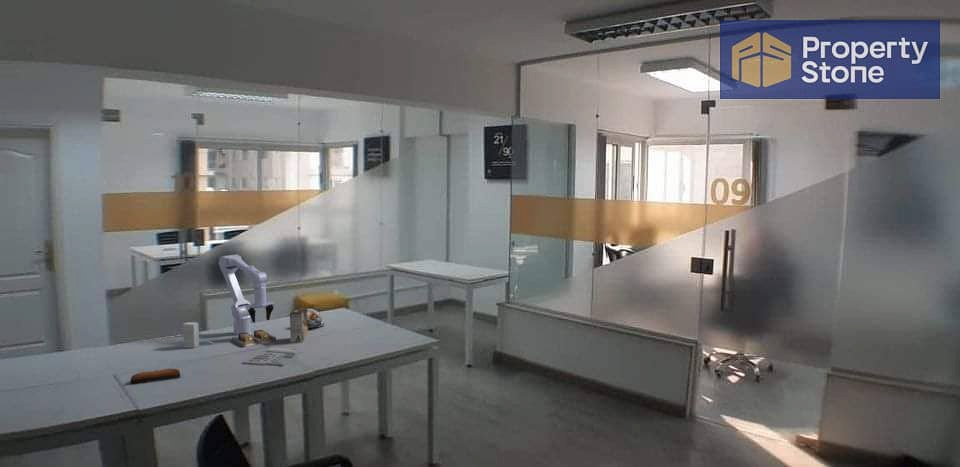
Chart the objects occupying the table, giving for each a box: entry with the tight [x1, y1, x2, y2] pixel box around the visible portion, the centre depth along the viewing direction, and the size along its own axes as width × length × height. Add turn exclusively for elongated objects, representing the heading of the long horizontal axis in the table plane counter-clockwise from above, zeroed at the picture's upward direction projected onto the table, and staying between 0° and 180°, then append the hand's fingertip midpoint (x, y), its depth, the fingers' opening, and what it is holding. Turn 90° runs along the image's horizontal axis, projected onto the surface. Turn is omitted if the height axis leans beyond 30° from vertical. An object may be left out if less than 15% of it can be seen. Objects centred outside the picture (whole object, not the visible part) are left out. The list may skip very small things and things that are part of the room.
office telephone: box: [242, 347, 303, 367], centre depth 266 cm, size 23×3×20 cm
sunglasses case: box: [130, 367, 181, 385], centre depth 236 cm, size 18×7×7 cm
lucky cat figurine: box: [300, 308, 325, 329], centre depth 320 cm, size 15×12×14 cm
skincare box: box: [182, 321, 200, 349], centre depth 281 cm, size 6×4×12 cm
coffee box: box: [289, 308, 309, 343], centre depth 293 cm, size 9×6×16 cm
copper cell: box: [237, 332, 254, 345], centre depth 287 cm, size 10×4×4 cm, turn 45°
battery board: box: [231, 333, 277, 348], centre depth 291 cm, size 15×16×3 cm
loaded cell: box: [253, 329, 270, 342], centre depth 293 cm, size 10×4×4 cm, turn 45°
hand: (260, 321), depth 297 cm, fingers open, 7 cm apart
